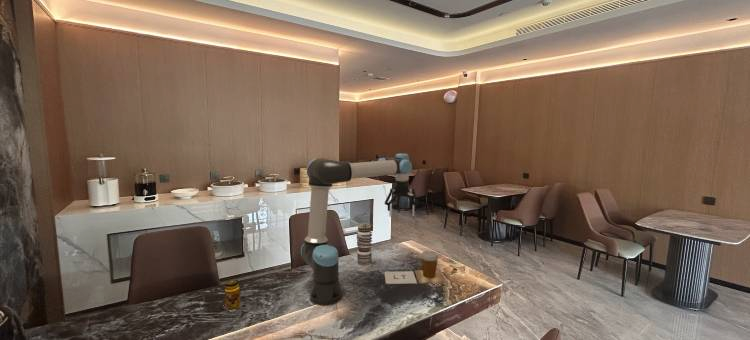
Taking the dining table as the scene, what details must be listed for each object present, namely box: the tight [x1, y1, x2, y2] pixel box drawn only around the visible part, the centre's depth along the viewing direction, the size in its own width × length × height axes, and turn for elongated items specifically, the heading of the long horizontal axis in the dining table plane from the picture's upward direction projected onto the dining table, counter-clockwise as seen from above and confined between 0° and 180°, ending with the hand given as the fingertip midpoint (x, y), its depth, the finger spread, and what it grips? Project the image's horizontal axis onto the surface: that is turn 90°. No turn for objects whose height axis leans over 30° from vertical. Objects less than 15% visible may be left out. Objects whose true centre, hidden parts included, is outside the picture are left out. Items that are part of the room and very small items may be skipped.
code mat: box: [383, 270, 418, 285], centre depth 169 cm, size 16×14×1 cm
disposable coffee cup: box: [420, 250, 439, 278], centre depth 169 cm, size 10×10×12 cm
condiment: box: [224, 279, 242, 310], centre depth 140 cm, size 7×8×12 cm
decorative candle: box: [356, 221, 373, 268], centre depth 185 cm, size 9×9×25 cm
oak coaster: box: [414, 269, 447, 284], centre depth 169 cm, size 14×14×1 cm
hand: (401, 216), depth 185 cm, fingers open, 13 cm apart
